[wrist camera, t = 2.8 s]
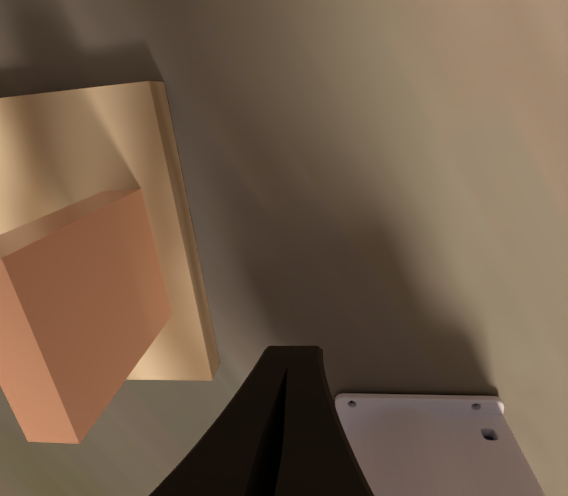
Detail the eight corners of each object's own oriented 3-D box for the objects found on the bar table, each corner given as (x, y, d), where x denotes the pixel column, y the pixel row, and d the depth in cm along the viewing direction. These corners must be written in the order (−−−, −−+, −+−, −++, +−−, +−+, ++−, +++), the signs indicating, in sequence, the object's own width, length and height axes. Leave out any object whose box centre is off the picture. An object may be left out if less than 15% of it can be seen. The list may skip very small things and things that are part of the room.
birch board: (163, 81, 17) (148, 80, 15) (219, 363, 23) (212, 380, 21) (-93, 110, 19) (-127, 112, 17) (20, 362, 25) (2, 377, 23)
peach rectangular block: (141, 188, 17) (1, 258, 10) (172, 315, 20) (79, 443, 13) (101, 191, 18) (-62, 261, 10) (137, 315, 20) (26, 441, 13)
